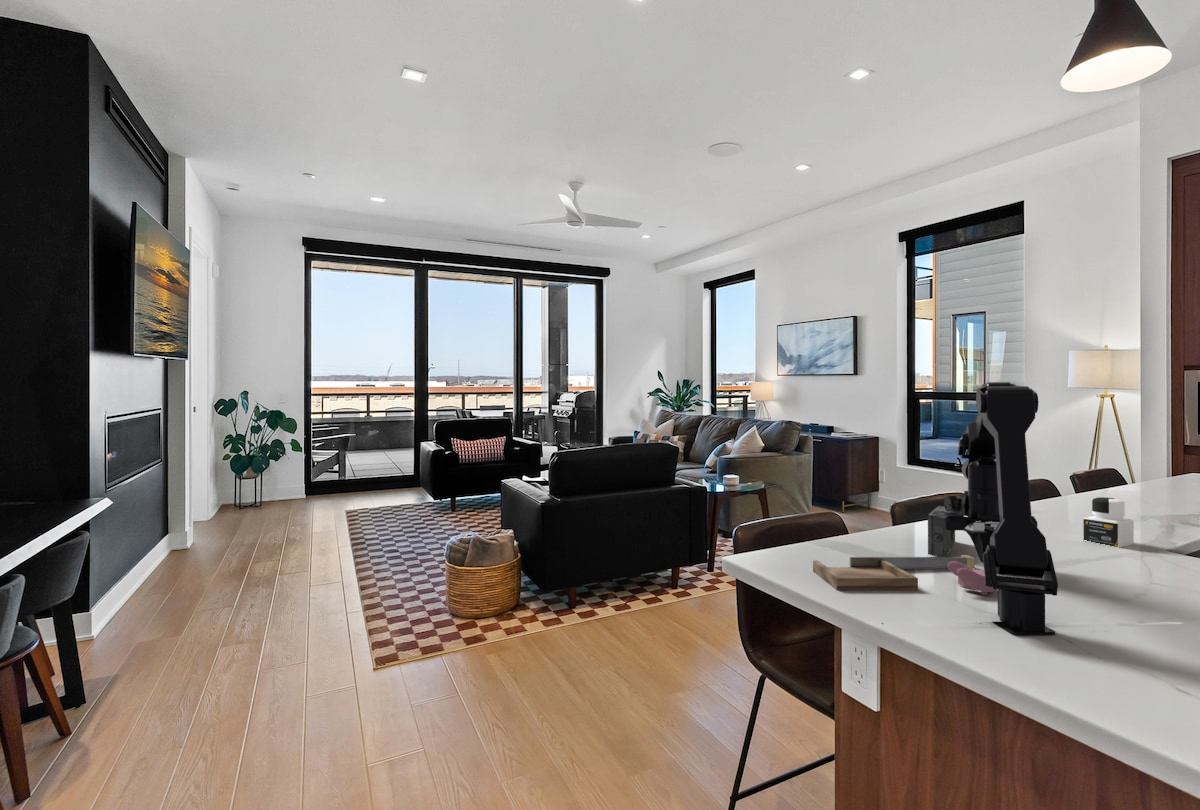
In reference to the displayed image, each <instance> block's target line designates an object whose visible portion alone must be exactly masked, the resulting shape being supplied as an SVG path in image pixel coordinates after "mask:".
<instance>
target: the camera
mask: <svg viewBox="0 0 1200 810" xmlns="http://www.w3.org/2000/svg"><path fill="white" fill-rule="evenodd" d="M936 513H953V511H946V510H945V506H941V505H938V506H937V507H935V508H934V509H933V510H932V511H931V512H929V513H928V514H927V555H929V554H930V555H929V556H935V555H937V556H936V557H943V556H945V557H948V555H947V554H949V553H950V551H951V549H952V547H953V546H954V545H955V543H956V530H945V529H942V528H939V527H937V526H934V525H933V517H934V515H935V514H936ZM954 542H955V543H954ZM953 544H954V545H953ZM949 550H950V551H949ZM948 552H949V553H948Z"/></svg>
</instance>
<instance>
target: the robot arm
mask: <svg viewBox="0 0 1200 810" xmlns="http://www.w3.org/2000/svg"><path fill="white" fill-rule="evenodd" d="M975 397H976V398H975V401H976V403H975V409H976V410H977V415H976V420H975V421H973V422H971V423H968V424H967V426H966V429H965V432H962V434H961V437H959V441H958V447H957V455H958V456H959V458H960V459H966V460H965V461H964V462H963V463H962V466H961V473H962V476H963V477H964V478H965V479H966V480H967V490H964V492H963V498H958V497H957V495H946V496H944V501H943V502H944V507H945V510H946V511H953V513H936V514H935V515H934V517H933V525H934V526H937V527H939V528H942V529H945V530H955V531H964V532H966V533H967V535H968V536H969V538H970V540H971V541H972V543H973V545H974V548H975V551H976V553H977V556H978V558H979V561H980V563H983V571H985V586H989V587H992V589H995V591H996V590H997V616H998V617H999V621H992V624H995V625H996V626H998V627H1000V628H1001V629H1004V630H1005V631H1007V632H1008V633H1011V634H1013V635H1017V636H1018V635H1027V636H1028V635H1030V636H1033V635H1036V636H1037V635H1039V636H1040V635H1048V636H1049V635H1051V636H1052V635H1056V630H1054V629H1052V628H1051V627H1048V626H1046V595H1052V596H1055V597H1056V596H1058V588H1059V582H1058V579H1057V573H1056V570H1055V565H1054V561H1053V557H1052V552H1051V551H1050V549H1048V548H1047V540H1046V537H1045V535H1044V533H1042V532H1041V531H1040V529H1039V528H1038V521H1037V519H1036V518H1035V516H1034V515H1032V508H1031V507H1032V505H1031V495H1030V494H1031V493H1030V479H1029V467H1028V455H1027V454H1028V453H1027V442H1026V441H1027V440H1026V432H1027V431H1028V430H1029V429H1030V427H1031V425H1032V423H1033V422H1034V420H1035V419H1036V414H1037V412H1038V410H1039V396H1038V393H1037V392H1036V391H1035V390H1033V389H1032V388H1030V387H1029V386H1028V385H1027V386H1026V385H1024V386H1020V385H1017V384H1015V383H1011V382H1010V381H1009V382H1008V381H1006V382H1005V381H1002V382H998V381H997V382H986V383H982V384H981V387H978V388H976V396H975Z"/></svg>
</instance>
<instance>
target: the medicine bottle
mask: <svg viewBox="0 0 1200 810" xmlns="http://www.w3.org/2000/svg"><path fill="white" fill-rule="evenodd" d="M1125 505H1126V504H1125V501H1124V500H1122V499H1120V498H1114V497H1104V496H1103V497H1099V496H1098V497H1095V498H1093V499H1092V500H1091V514H1092V515H1093V516H1085V517H1083V541H1084V540H1087V541H1091V542H1096V543H1100V544H1099V545H1101V544H1105V545H1104V546H1106V545H1110V546H1109V547H1112V546H1114V547H1113V548H1117V547H1119V548H1122V546H1123V547H1126V546H1127V547H1128V546H1132V545H1134V542H1135V541H1134V539H1135V538H1134V536H1135V534H1134V528H1135V527H1134V525H1135V524H1134V520H1133V519H1130V518H1125V517H1126V512H1125V511H1126V506H1125ZM1091 542H1090V543H1091ZM1096 543H1095V544H1096ZM1131 544H1132V545H1131Z"/></svg>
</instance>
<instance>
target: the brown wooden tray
mask: <svg viewBox="0 0 1200 810" xmlns="http://www.w3.org/2000/svg"><path fill="white" fill-rule="evenodd" d="M812 572H813V573H814V574H816V575H817V576H818V577H820V578H821V579H823V580H824V581H825V582H826V583H828V585H829V586H831V587H832V588H834V589H835V590H836V591H919V578H918V577H916V576H914V575H913V574H911V573H909V572H907V571H905V569H900V568H898V567H896V566H895V565H893V564H891V563H889V562H887V561H881V567H850V566H849V567H847V566H841V567H838V566H836V567H835V566H832V567H831V566H830V567H829V566H826V565H825V564H823V563H822V562H820V561H819V560H812Z"/></svg>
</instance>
